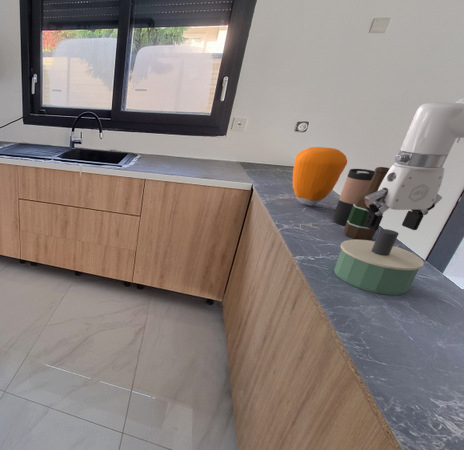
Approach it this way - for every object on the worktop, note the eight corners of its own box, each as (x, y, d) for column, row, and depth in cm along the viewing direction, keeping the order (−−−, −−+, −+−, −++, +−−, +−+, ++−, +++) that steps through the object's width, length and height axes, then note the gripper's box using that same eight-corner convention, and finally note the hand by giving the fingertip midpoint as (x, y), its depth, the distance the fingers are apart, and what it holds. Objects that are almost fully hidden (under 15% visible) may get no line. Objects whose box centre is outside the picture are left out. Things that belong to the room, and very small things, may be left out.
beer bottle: (345, 229, 112) (370, 164, 103) (374, 236, 107) (403, 167, 97) (339, 235, 108) (364, 167, 98) (369, 243, 102) (398, 172, 93)
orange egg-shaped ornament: (278, 197, 147) (293, 143, 137) (321, 200, 142) (339, 144, 132) (290, 209, 132) (307, 150, 122) (338, 213, 127) (360, 151, 117)
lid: (380, 242, 88) (390, 219, 85) (441, 272, 74) (456, 245, 71) (325, 243, 88) (333, 220, 85) (375, 273, 74) (387, 246, 71)
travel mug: (355, 220, 119) (374, 169, 111) (360, 228, 113) (381, 174, 105) (330, 217, 123) (347, 167, 115) (333, 224, 117) (351, 172, 109)
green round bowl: (371, 264, 90) (381, 241, 87) (424, 294, 77) (438, 268, 74) (321, 265, 91) (329, 242, 88) (365, 295, 77) (376, 269, 74)
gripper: (397, 164, 68) (367, 234, 75) (477, 163, 67) (440, 234, 74) (367, 157, 75) (342, 222, 81) (439, 156, 74) (408, 222, 81)
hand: (389, 228), depth 78 cm, fingers open, 9 cm apart
